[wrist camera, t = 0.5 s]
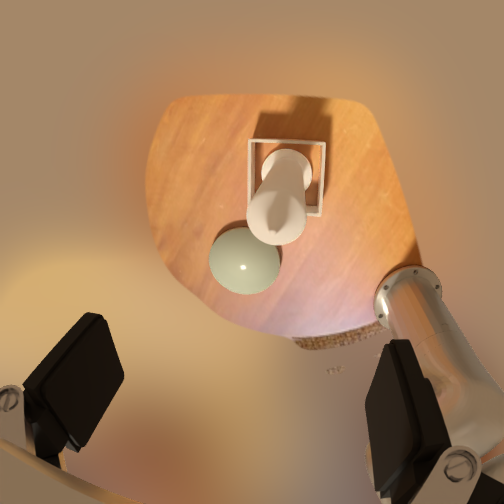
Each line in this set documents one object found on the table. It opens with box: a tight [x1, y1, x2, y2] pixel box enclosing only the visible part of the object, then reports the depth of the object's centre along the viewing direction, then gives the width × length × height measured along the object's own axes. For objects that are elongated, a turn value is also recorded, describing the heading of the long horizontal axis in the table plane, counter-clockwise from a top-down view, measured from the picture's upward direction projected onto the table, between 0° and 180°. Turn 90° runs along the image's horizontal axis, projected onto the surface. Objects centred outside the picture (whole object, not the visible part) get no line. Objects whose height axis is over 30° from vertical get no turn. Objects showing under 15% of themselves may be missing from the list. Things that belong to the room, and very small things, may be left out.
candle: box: [246, 149, 312, 245], centre depth 31 cm, size 7×7×25 cm
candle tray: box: [248, 138, 326, 217], centre depth 41 cm, size 10×10×4 cm
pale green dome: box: [209, 227, 280, 294], centre depth 48 cm, size 11×11×1 cm
